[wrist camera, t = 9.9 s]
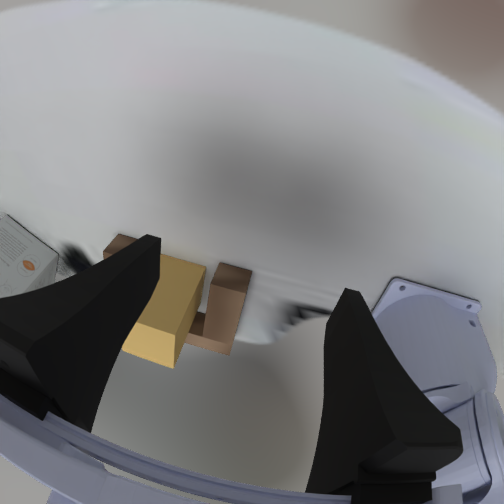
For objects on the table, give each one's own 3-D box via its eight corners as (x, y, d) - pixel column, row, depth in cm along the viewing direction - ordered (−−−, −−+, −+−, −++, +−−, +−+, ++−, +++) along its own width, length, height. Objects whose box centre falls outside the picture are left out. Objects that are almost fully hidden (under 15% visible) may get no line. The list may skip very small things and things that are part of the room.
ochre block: (206, 266, 24) (174, 335, 19) (200, 302, 27) (173, 368, 21) (157, 252, 24) (117, 315, 19) (157, 289, 27) (122, 350, 21)
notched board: (252, 271, 24) (246, 293, 22) (235, 333, 28) (229, 355, 26) (118, 233, 24) (102, 251, 22) (123, 299, 28) (111, 317, 26)
